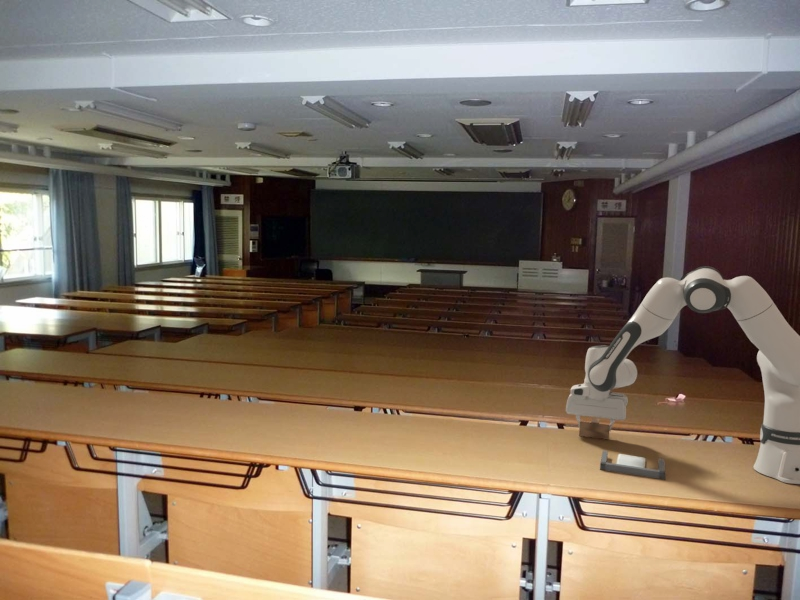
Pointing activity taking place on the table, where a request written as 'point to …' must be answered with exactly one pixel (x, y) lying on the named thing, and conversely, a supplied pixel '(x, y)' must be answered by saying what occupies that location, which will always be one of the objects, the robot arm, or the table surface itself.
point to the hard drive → (631, 460)
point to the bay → (633, 468)
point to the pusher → (594, 429)
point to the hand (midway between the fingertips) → (594, 428)
